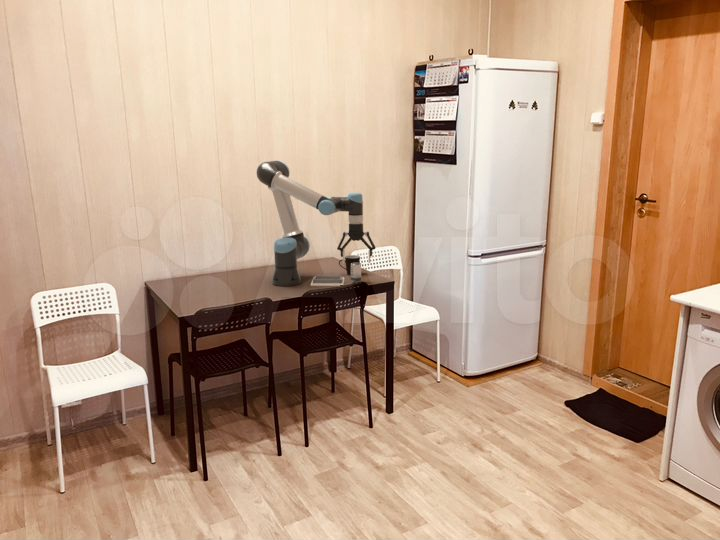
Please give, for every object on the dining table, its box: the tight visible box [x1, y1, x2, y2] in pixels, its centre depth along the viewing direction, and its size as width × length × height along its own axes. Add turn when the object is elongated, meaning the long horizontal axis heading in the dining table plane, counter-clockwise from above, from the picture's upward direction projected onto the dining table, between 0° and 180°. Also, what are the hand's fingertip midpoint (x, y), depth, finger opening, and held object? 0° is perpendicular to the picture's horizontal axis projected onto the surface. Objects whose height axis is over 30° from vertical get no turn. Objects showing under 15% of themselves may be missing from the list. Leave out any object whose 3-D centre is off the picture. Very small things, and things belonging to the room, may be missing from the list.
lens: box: [350, 262, 362, 284], centre depth 306 cm, size 6×6×10 cm
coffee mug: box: [338, 254, 361, 276], centre depth 324 cm, size 12×9×10 cm
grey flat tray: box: [310, 275, 345, 287], centre depth 306 cm, size 17×16×2 cm
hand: (356, 262), depth 305 cm, fingers open, 13 cm apart
